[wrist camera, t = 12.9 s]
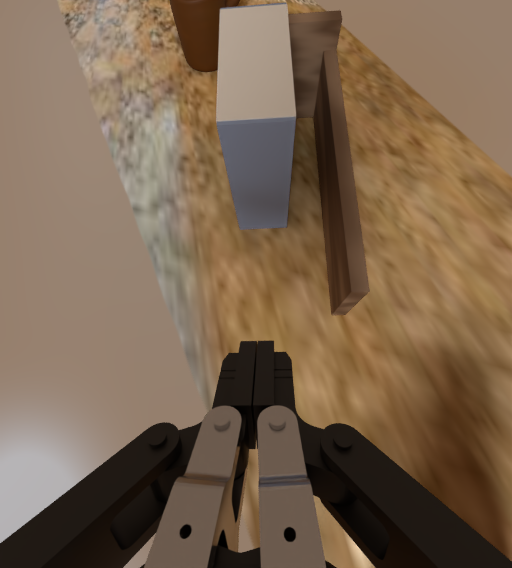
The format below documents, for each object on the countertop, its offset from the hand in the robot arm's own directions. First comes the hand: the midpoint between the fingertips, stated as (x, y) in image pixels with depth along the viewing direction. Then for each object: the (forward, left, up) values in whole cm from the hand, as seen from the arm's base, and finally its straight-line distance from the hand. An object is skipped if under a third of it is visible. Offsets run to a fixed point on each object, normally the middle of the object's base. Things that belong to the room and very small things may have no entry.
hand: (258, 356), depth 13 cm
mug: (+7, -51, -20) cm, 55 cm away
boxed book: (0, -25, -19) cm, 31 cm away
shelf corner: (-3, -22, -19) cm, 30 cm away
